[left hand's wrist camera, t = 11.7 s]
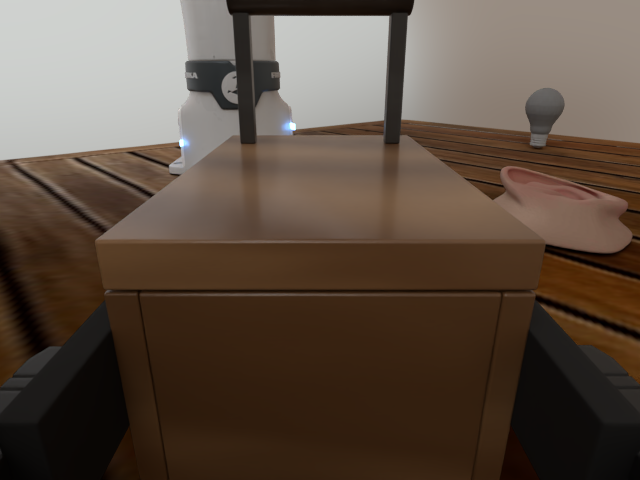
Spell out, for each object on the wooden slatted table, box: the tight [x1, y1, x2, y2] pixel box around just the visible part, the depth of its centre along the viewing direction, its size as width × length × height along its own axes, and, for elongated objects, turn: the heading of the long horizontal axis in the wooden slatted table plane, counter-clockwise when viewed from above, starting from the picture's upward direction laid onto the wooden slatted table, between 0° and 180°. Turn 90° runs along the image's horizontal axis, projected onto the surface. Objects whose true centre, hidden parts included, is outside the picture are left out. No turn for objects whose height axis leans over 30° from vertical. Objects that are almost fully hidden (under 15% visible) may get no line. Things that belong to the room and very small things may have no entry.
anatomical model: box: [493, 166, 632, 253], centre depth 40 cm, size 13×4×12 cm
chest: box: [104, 290, 535, 480], centre depth 18 cm, size 15×9×9 cm, turn 0°
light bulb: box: [525, 88, 564, 148], centre depth 78 cm, size 6×6×10 cm
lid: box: [95, 0, 546, 290], centre depth 15 cm, size 16×9×8 cm, turn 0°
